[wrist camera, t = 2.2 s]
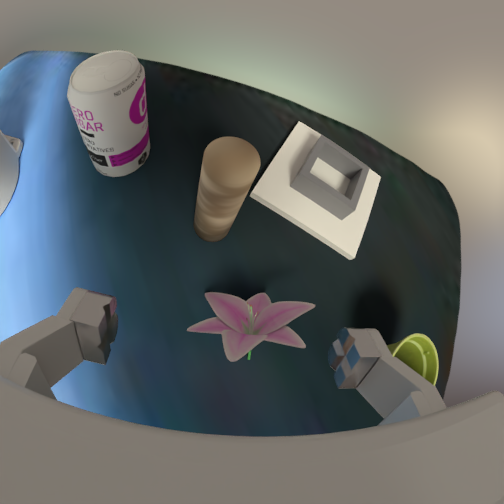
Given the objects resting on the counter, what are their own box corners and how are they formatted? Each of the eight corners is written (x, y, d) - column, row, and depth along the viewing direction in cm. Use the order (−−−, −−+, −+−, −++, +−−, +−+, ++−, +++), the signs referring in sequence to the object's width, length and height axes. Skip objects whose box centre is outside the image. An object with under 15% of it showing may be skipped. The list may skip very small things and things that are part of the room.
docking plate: (249, 196, 36) (259, 178, 31) (296, 125, 41) (307, 107, 37) (349, 260, 37) (369, 250, 33) (376, 180, 43) (393, 166, 38)
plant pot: (390, 328, 36) (434, 323, 28) (398, 387, 34) (441, 392, 26) (338, 347, 33) (380, 348, 25) (348, 411, 31) (389, 426, 23)
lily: (306, 317, 34) (325, 268, 28) (288, 406, 26) (308, 379, 20) (215, 296, 36) (210, 242, 29) (182, 377, 28) (162, 340, 21)
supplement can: (155, 131, 35) (153, 46, 21) (144, 181, 33) (130, 95, 19) (102, 131, 33) (83, 50, 19) (87, 179, 31) (51, 100, 17)
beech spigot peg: (186, 229, 33) (191, 164, 20) (206, 201, 34) (222, 128, 21) (218, 248, 33) (243, 194, 20) (236, 219, 34) (269, 154, 21)
